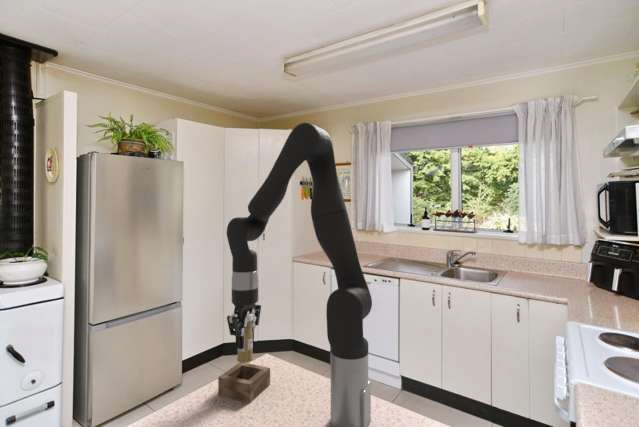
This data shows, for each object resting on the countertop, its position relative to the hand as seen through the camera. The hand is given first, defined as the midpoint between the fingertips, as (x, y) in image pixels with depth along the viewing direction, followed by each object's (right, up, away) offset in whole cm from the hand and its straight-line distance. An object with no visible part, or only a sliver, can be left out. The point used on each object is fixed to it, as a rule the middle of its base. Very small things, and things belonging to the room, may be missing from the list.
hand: (245, 344), depth 97 cm
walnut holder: (0, -13, 0) cm, 13 cm away
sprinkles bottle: (0, -4, 0) cm, 4 cm away
